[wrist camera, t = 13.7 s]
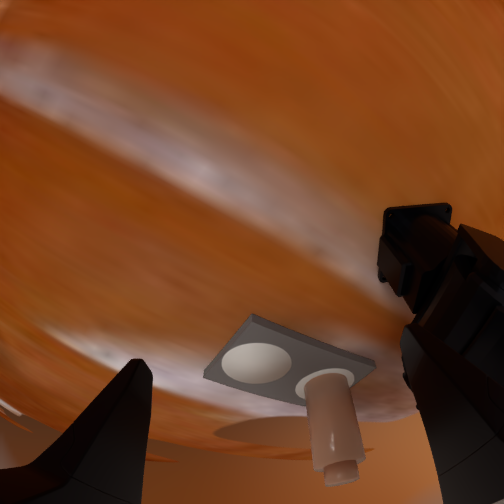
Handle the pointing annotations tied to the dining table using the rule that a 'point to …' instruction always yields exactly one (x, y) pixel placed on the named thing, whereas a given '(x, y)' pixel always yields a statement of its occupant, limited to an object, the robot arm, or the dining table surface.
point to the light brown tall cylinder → (333, 429)
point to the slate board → (280, 361)
